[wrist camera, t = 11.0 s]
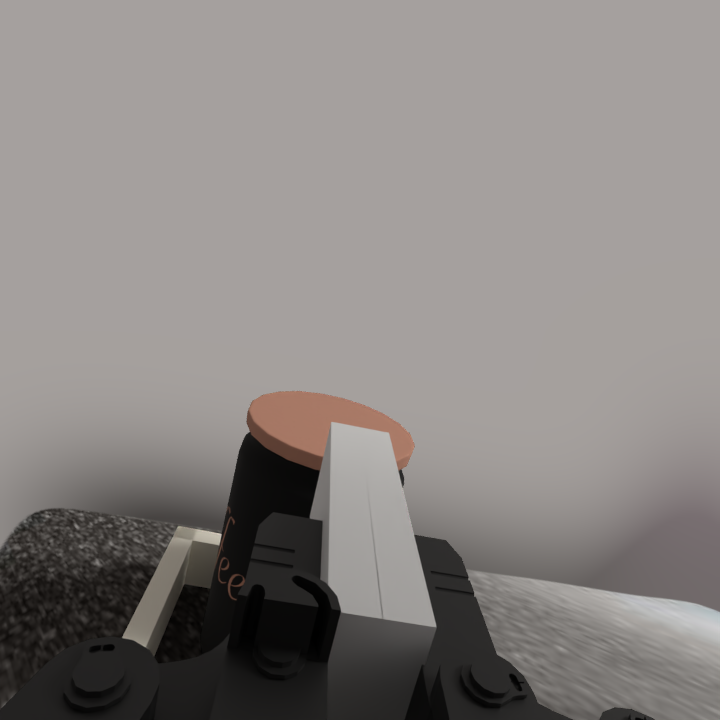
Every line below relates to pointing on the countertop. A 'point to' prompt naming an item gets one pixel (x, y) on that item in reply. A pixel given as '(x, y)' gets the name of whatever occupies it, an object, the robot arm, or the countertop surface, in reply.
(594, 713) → the countertop surface
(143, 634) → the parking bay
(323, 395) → the coffee jar
